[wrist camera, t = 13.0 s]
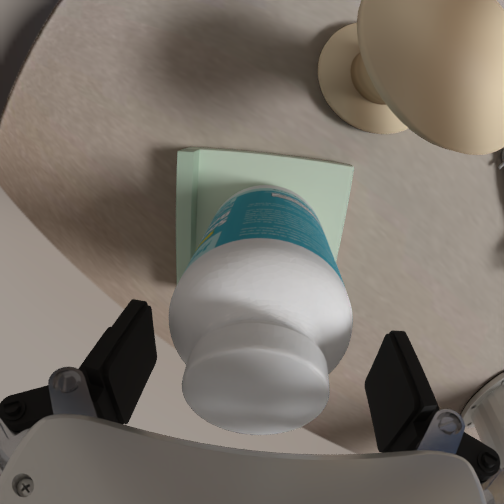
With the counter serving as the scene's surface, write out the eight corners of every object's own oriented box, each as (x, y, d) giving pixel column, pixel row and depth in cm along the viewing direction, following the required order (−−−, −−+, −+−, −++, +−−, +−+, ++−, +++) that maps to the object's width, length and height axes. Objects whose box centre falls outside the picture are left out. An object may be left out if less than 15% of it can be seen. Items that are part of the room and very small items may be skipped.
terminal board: (350, 164, 20) (360, 171, 17) (322, 301, 24) (326, 322, 22) (189, 146, 20) (177, 151, 17) (186, 286, 24) (177, 305, 22)
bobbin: (427, 44, 15) (526, 13, 5) (418, 144, 18) (521, 177, 8) (321, 14, 15) (364, -66, 5) (311, 121, 19) (355, 124, 9)
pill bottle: (218, 174, 19) (128, 277, 7) (331, 192, 19) (415, 319, 7) (208, 275, 22) (150, 434, 10) (307, 290, 22) (330, 457, 10)
